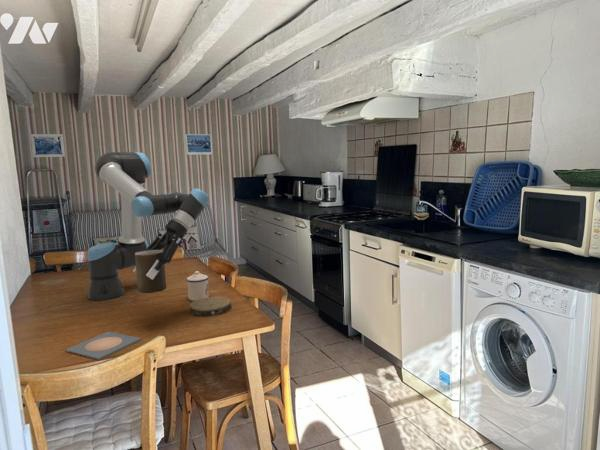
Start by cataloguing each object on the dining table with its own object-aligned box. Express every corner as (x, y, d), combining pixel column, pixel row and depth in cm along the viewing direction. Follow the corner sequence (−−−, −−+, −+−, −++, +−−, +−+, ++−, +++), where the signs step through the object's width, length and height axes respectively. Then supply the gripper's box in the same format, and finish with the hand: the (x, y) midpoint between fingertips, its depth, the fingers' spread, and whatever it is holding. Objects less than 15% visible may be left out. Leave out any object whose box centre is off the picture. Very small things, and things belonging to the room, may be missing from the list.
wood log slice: (187, 307, 174) (186, 300, 173) (226, 301, 180) (225, 294, 180) (194, 320, 159) (193, 312, 159) (236, 312, 165) (235, 305, 165)
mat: (65, 351, 135) (64, 349, 135) (108, 333, 149) (108, 331, 149) (98, 360, 128) (98, 358, 128) (141, 340, 142) (141, 338, 142)
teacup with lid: (211, 299, 183) (209, 272, 181) (189, 302, 180) (187, 275, 178) (207, 291, 194) (205, 266, 192) (186, 294, 191) (184, 269, 189)
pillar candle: (161, 292, 149) (158, 250, 148) (133, 294, 150) (129, 251, 148) (170, 285, 159) (166, 245, 157) (143, 286, 159) (140, 246, 157)
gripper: (158, 217, 166) (121, 265, 157) (187, 220, 150) (149, 274, 141) (171, 228, 170) (136, 276, 161) (202, 233, 155) (165, 286, 146)
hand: (142, 275), depth 151 cm, fingers closed on pillar candle, 9 cm apart
